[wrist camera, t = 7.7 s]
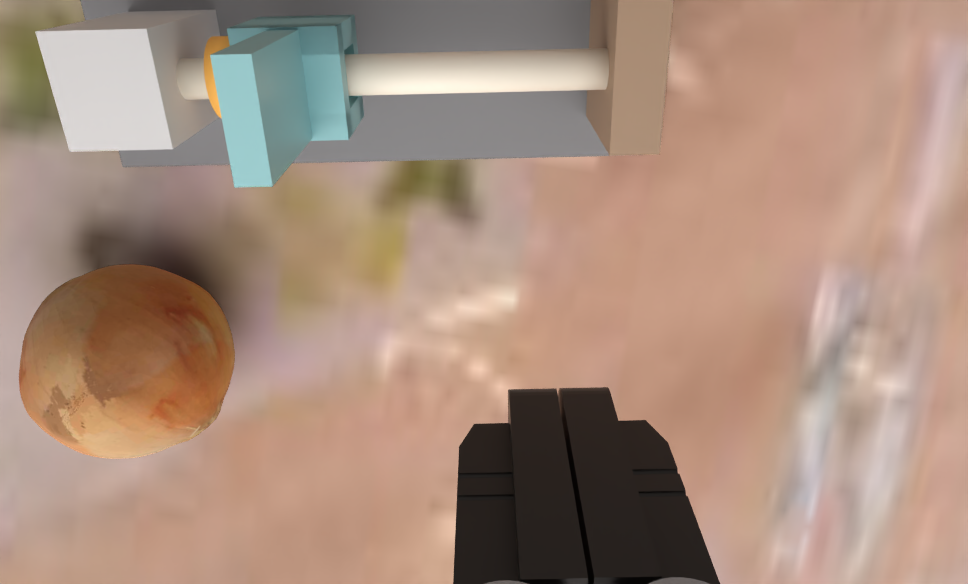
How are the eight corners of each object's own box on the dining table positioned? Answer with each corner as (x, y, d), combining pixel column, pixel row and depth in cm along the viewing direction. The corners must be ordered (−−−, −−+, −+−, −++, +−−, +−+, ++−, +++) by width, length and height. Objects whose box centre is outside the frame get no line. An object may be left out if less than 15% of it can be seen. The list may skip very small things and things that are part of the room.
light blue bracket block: (354, 14, 30) (298, 49, 21) (364, 115, 32) (317, 188, 23) (258, 16, 30) (160, 52, 21) (274, 117, 32) (190, 191, 23)
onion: (212, 414, 44) (143, 538, 35) (54, 332, 41) (-65, 443, 32) (288, 299, 40) (234, 403, 31) (120, 201, 37) (8, 284, 29)
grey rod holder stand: (657, -71, 32) (713, -73, 24) (640, 149, 36) (683, 206, 29) (77, -57, 32) (-48, -54, 24) (131, 161, 36) (39, 220, 29)
